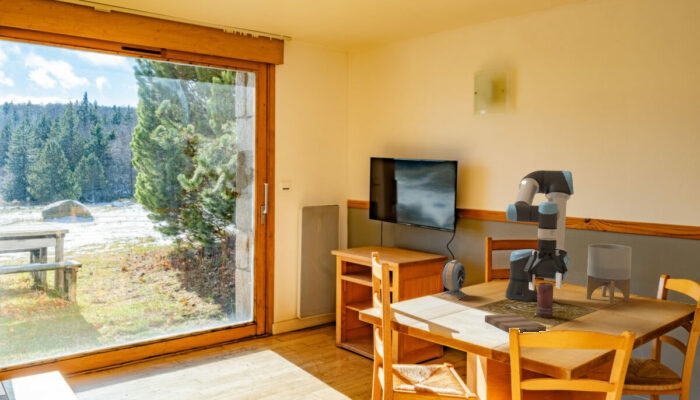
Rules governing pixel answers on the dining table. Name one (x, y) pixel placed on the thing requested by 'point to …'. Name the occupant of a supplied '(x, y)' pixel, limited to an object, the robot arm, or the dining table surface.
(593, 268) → the planter
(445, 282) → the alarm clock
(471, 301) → the dining table surface
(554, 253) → the robot arm
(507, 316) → the board
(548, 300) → the can
